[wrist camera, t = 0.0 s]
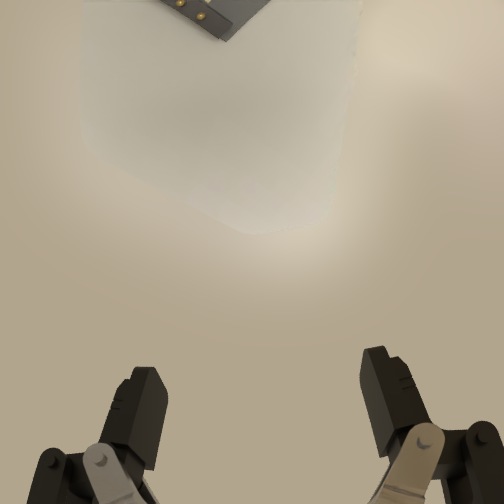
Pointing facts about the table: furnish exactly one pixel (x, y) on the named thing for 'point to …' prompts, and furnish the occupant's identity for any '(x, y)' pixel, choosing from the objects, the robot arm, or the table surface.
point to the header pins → (200, 16)
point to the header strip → (211, 22)
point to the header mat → (236, 12)
